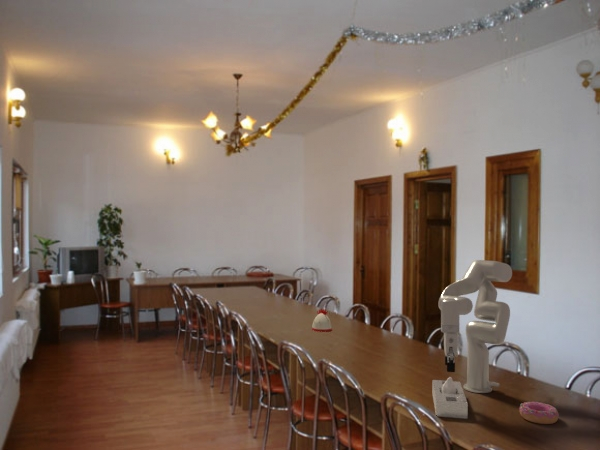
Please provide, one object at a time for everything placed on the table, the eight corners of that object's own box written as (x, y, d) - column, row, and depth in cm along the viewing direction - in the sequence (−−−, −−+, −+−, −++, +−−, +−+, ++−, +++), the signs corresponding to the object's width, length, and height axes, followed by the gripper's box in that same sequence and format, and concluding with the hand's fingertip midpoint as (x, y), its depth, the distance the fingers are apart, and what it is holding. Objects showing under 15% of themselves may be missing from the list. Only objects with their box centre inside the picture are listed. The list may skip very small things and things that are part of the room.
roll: (446, 373, 234) (459, 376, 230) (446, 401, 234) (458, 404, 230) (440, 376, 230) (452, 379, 226) (439, 404, 230) (451, 408, 226)
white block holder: (459, 395, 243) (460, 381, 243) (467, 418, 214) (467, 403, 214) (432, 393, 246) (432, 379, 246) (436, 416, 216) (436, 400, 216)
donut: (547, 412, 223) (547, 400, 223) (565, 425, 209) (566, 412, 209) (513, 412, 223) (513, 400, 223) (528, 425, 208) (529, 412, 208)
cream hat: (325, 332, 377) (325, 311, 377) (308, 330, 384) (308, 308, 384) (335, 329, 389) (335, 308, 388) (318, 327, 396) (318, 306, 396)
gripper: (461, 333, 221) (461, 375, 221) (457, 324, 238) (457, 363, 238) (442, 332, 222) (442, 374, 222) (439, 323, 239) (439, 362, 239)
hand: (449, 368), depth 230 cm, fingers open, 9 cm apart
